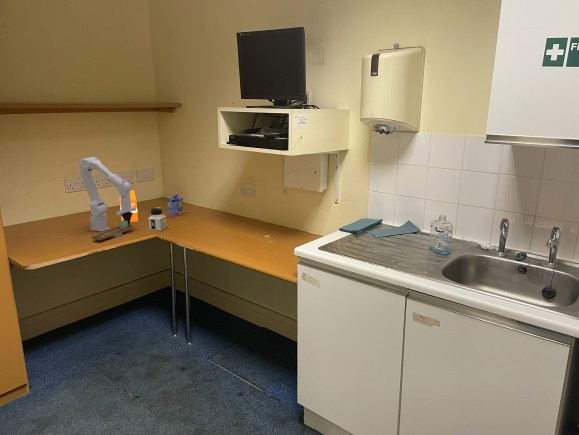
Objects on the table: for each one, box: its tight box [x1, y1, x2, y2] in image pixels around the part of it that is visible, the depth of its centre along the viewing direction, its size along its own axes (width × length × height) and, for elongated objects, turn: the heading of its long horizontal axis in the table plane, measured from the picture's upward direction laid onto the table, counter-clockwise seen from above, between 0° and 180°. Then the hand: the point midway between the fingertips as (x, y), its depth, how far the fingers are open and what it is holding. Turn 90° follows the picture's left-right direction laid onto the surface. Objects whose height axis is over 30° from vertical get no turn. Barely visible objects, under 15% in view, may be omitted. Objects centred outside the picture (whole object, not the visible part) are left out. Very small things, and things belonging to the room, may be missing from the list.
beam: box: [91, 224, 135, 241], centre depth 261 cm, size 8×26×4 cm, turn 156°
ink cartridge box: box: [166, 194, 184, 218], centre depth 307 cm, size 10×6×14 cm, turn 145°
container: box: [148, 207, 167, 231], centre depth 275 cm, size 8×8×13 cm
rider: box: [118, 220, 128, 229], centre depth 267 cm, size 3×4×4 cm
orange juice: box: [119, 189, 139, 223], centre depth 292 cm, size 8×9×20 cm
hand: (127, 224), depth 271 cm, fingers closed
